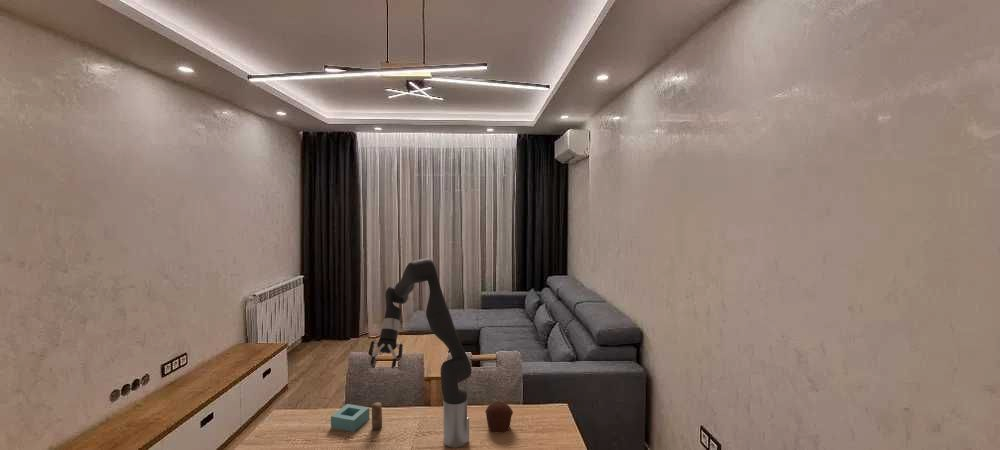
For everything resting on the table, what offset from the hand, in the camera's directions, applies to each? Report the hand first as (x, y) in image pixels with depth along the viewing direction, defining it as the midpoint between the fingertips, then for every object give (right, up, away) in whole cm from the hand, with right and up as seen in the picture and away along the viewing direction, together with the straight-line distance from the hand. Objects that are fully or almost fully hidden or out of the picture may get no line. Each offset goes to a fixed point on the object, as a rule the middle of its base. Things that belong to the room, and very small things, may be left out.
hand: (382, 367), depth 190 cm
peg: (0, -23, -8) cm, 24 cm away
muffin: (+50, -23, -6) cm, 56 cm away
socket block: (-12, -22, -4) cm, 26 cm away
